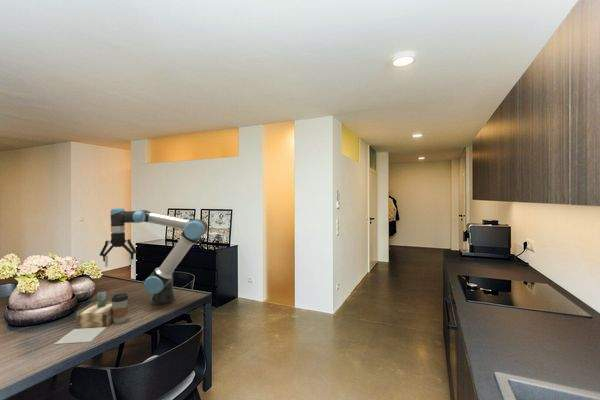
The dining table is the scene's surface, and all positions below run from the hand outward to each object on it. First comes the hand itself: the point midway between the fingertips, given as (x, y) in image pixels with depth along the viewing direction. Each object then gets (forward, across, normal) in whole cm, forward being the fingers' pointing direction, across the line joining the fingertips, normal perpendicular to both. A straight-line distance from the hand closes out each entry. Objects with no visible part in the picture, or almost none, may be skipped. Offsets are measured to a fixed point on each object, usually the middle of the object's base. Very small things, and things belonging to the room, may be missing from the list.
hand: (118, 265), depth 183 cm
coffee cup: (+28, -6, +21) cm, 36 cm away
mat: (+28, +8, +35) cm, 45 cm away
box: (+28, +6, +18) cm, 34 cm away
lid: (+21, +5, +19) cm, 29 cm away
